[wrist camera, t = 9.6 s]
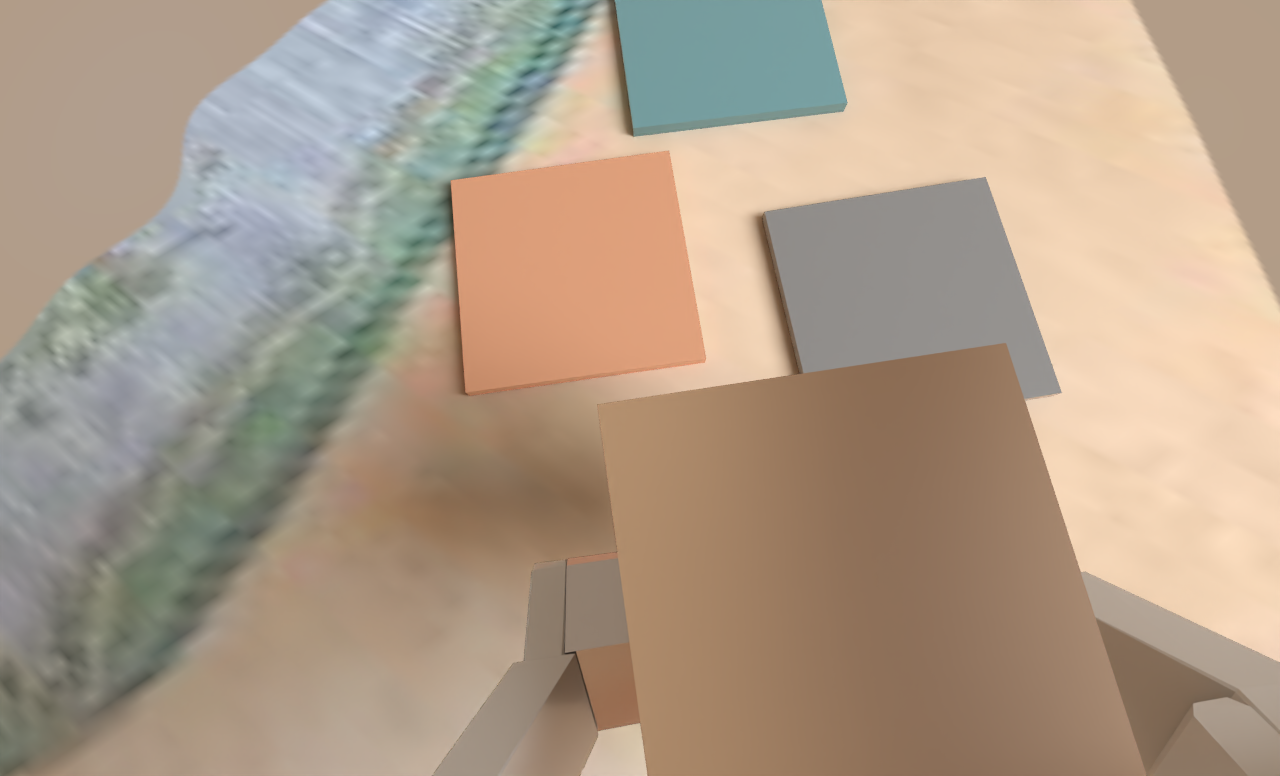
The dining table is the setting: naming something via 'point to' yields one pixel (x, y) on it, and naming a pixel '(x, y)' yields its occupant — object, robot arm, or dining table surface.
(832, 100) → the teal tile
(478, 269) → the terracotta tile
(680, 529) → the walnut block
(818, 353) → the slate tile
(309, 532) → the dining table surface
